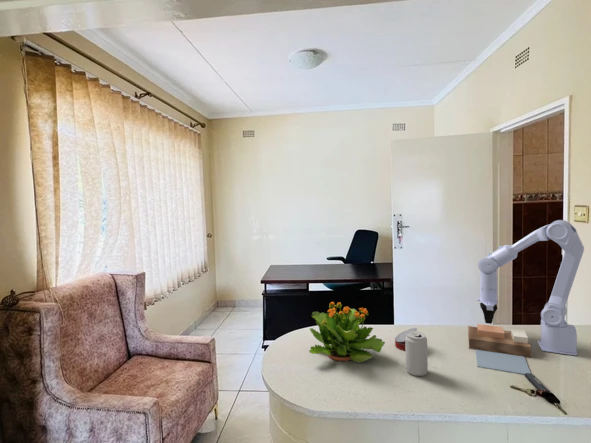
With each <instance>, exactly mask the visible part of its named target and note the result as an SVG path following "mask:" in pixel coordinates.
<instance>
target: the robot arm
mask: <svg viewBox="0 0 591 443" xmlns="http://www.w3.org/2000/svg"><path fill="white" fill-rule="evenodd" d="M549 240H552V241H553V242H555V243H556V244H558V246H560V248H561V249H562V250H563V251H564V254H563V257H562V259H561V260H562V261H561V262H560V267H559V269H558V273H557V275H556V279H555V282H554V285H553V288H552V291H551V294H550V297H549V300H548V301H547V302H546V303H545V304H544V306H543V309H542V310H541V312H540V318H541V319H540V340H536V343H537V344H538V346H539V348H540V349H541V351H542V352H547V353H554V354H563V355H570V356H578V353H577V350H578V349H577V348H578V347H577V344H578V341H577V340H578V339H577V337H578V333H577V329H576V326H575V325H573V324H569V323H568V322H567V321H566V315H567V314H568V310H567V305H566V304H567V301H568V299H569V295H570V293H571V290H572V287H573V284H574V281H575V278H576V275H577V271H578V269H579V267H580V263H581V260H582V257H583V254H584V252H585V246H584V245H583V242H582V240H581V238H580V236H579V234H578V231H577V229H576V227H574V226H573V225H572V224H571V223H570V222H569V221H567V220H565V219H564V220H563V219H557V220H554V221H552V222H551V223H550V224H546V225H544V226H541V227H539V228H538V229H536V230H535V229H534V230H533V231H532V232H530V233H529V234H527V235H526V236H524V237H523V238H521V239H520V240H518V241H517V242H515V243H513V244H512V245H511V244H504V245H500V246H498V247H497V248H498V249H496V250H495V251H493V252H491V253H490V252H489V253H487V254H486V255H487V256H485V257H483V258H481V259H480V260H479V261H478V263H477V266H478V269H479V297H476V301H477V302H480V303H479V305H480V308H481V311H482V313H483V318H484V323H485V324H488V325H489V324H493V320H494V316H495V314H496V312H497V310H498V306H497V304H498V301H499V300H498V273H497V272H498V269H499V268H500V267H503V266H505V265H507V264H508V263H510V262H512V261H513V260H515V259H517V257H518V253H519V252H521V251H523V250H525V249H527V248H528V247H530V246H532V245H533V244H536V243H538V242H545V241H547V242H548V241H549Z"/></svg>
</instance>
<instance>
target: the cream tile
mask: <svg viewBox="0 0 591 443" xmlns="http://www.w3.org/2000/svg"><path fill="white" fill-rule="evenodd" d="M510 331H511V336H512V339H513V341H514V342H519V343H527V344H528V341H529V337H528V335H527V333H526V331H525V330H524V329H520V328H519V329H518V328H510Z"/></svg>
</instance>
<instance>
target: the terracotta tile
mask: <svg viewBox="0 0 591 443" xmlns="http://www.w3.org/2000/svg"><path fill="white" fill-rule="evenodd" d="M476 327H477V330H478V336H486V337H494V338H501V339H504V331H505V330H504V327H503V326H497V325H489V324H479V323H477V325H476Z"/></svg>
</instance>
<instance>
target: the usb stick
mask: <svg viewBox="0 0 591 443" xmlns="http://www.w3.org/2000/svg"><path fill="white" fill-rule="evenodd" d="M524 377H525V378H526V379H527V381H529V383H531V385H532V386H533V387H534V388H535V389H536V390H537V391H538V390H539V389H541V390H542V391H544V390H545V391H547V392H550V393H551V394H552V392H551V391H550V390H549V389H548V388H547V386H546V385H544V384H543V382H542V381H541V380H540V379H538V378H537V376H536V375H534V373H531V372H530V373H526V374H525V375H524Z"/></svg>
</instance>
